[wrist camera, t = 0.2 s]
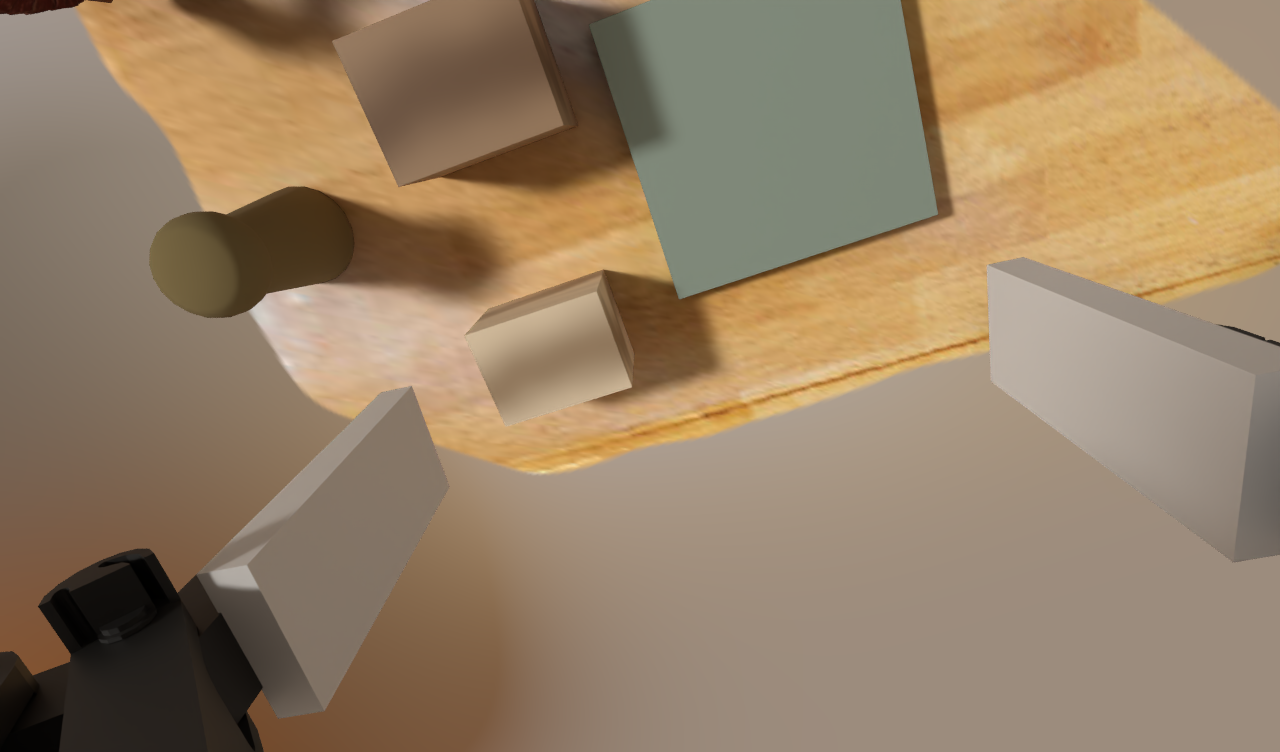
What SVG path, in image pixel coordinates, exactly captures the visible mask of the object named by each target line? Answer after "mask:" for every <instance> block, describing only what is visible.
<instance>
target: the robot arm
mask: <svg viewBox="0 0 1280 752" xmlns="http://www.w3.org/2000/svg"><path fill="white" fill-rule="evenodd" d="M987 284H988V312H989V341H990V368H991V382H992V383H994V384H995V385H996V386H998V387H999V388H1000V389H1002V390H1003V391H1005V392H1006V393H1007V394H1008V395H1010V396H1011V397H1013V398H1014V399H1015V400H1017V401H1018V402H1019V403H1021V404H1022V405H1024V406H1025V407H1026V408H1027V409H1029V410H1030V411H1031V412H1033V413H1034V414H1035V415H1037V416H1038V417H1039V418H1041V419H1042V420H1043V421H1045V422H1046V423H1048V424H1049V425H1050V426H1051V427H1053V428H1054V429H1055V430H1057V431H1058V432H1059V433H1061V434H1062V435H1063V436H1065V437H1066V438H1068V439H1069V440H1070V441H1072V442H1073V443H1074V444H1075V445H1077V446H1078V447H1080V448H1081V449H1082V450H1083V451H1085V452H1086V453H1087V454H1089V455H1090V456H1092V457H1093V458H1094V459H1096V460H1097V461H1098V462H1100V463H1101V464H1102V465H1104V466H1105V467H1106V468H1108V469H1109V470H1110V471H1112V472H1113V473H1114V474H1116V475H1117V476H1118V477H1120V478H1121V479H1122V480H1124V481H1125V482H1126V483H1128V484H1129V485H1130V486H1132V487H1133V488H1134V489H1136V490H1137V491H1139V492H1140V493H1141V494H1142V495H1144V496H1145V497H1146V498H1148V499H1149V500H1150V501H1152V502H1153V503H1154V504H1156V505H1157V506H1159V507H1160V508H1161V509H1163V510H1164V511H1165V512H1166V513H1168V514H1169V515H1170V516H1172V517H1173V518H1175V519H1176V520H1177V521H1179V522H1180V523H1181V524H1183V525H1184V526H1185V527H1187V528H1188V529H1189V530H1191V531H1192V532H1193V533H1195V534H1196V535H1197V536H1199V537H1200V538H1201V539H1203V540H1204V541H1205V542H1207V543H1208V544H1210V545H1211V546H1212V547H1213V548H1215V549H1216V550H1217V551H1219V552H1220V553H1221V554H1223V555H1224V556H1225V557H1227V558H1228V559H1229V560H1231V561H1232V562H1239V561H1244V560H1250V559H1257V558H1263V557H1269V556H1275V555H1280V343H1279V342H1276V341H1273V340H1267V341H1266V340H1265V338H1264V337H1261V336H1258V335H1256V334H1253V333H1250V332H1247V331H1244V330H1241V329H1238V328H1235V327H1230V326H1223V325H1217V324H1213V323H1210V322H1208V321H1205V320H1202V319H1199V318H1196V317H1193V316H1190V315H1188V314H1185V313H1182V312H1179V311H1176V310H1173V309H1170V308H1167V307H1165V306H1162V305H1159V304H1156V303H1153V302H1150V301H1148V300H1145V299H1142V298H1139V297H1136V296H1133V295H1130V294H1127V293H1125V292H1122V291H1119V290H1116V289H1113V288H1110V287H1107V286H1105V285H1102V284H1099V283H1096V282H1093V281H1090V280H1087V279H1084V278H1082V277H1079V276H1076V275H1073V274H1070V273H1067V272H1064V271H1062V270H1059V269H1056V268H1053V267H1050V266H1047V265H1044V264H1041V263H1039V262H1036V261H1033V260H1030V259H1027V258H1024V257H1022V258H1017V259H1013V260H1008V261H1003V262H998V263H994V264H989V265H987ZM448 489H449V484H448V481H447V478H446V476H445V473H444V470H443V468H442V465H441V463H440V460H439V457H438V454H437V452H436V449H435V446H434V444H433V441H432V438H431V436H430V433H429V430H428V428H427V425H426V423H425V420H424V417H423V415H422V412H421V409H420V407H419V404H418V401H417V399H416V396H415V393H414V391H413V388H412V386H409V387H405V388H400V389H395V390H390V391H386V392H381V393H380V394H379V395H378V396H377V397H376V398H375V399H374V400H373V401H372V402H371V403H370V404H369V405H368V406H367V407H366V408H365V409H364V410H363V411H362V412H361V413H360V414H359V415H358V416H357V417H356V418H355V419H354V420H353V421H352V422H351V423H350V424H349V425H348V426H347V427H346V428H345V429H344V430H343V431H341V432H340V433H339V435H337V436H336V437H335V438H334V439H333V440H332V441H331V442H330V443H329V444H328V445H327V446H326V447H325V448H324V449H323V450H322V451H321V452H320V453H319V454H318V455H317V456H316V457H315V458H314V459H313V460H312V461H311V462H310V463H309V464H308V465H307V466H306V467H305V468H304V469H303V470H302V471H301V472H300V473H299V474H298V475H297V476H296V477H295V478H294V479H293V480H292V481H291V482H290V483H289V484H288V485H287V486H286V487H285V488H284V489H283V490H282V491H281V492H280V493H279V494H278V495H277V496H276V497H275V498H273V500H271V502H270V503H269V504H267V505H266V506H265V507H264V508H263V509H262V510H261V511H260V512H259V513H258V515H256V516H255V517H254V518H253V519H252V520H251V521H250V522H249V523H248V524H247V525H246V526H245V527H244V528H243V529H242V530H241V531H240V532H239V533H238V534H237V535H236V536H235V537H234V538H233V539H232V540H231V541H230V542H229V543H228V544H227V545H226V546H225V547H224V548H223V549H222V550H221V551H220V552H219V553H218V554H217V555H216V556H215V557H214V558H213V559H212V560H211V561H210V562H209V563H208V564H207V565H206V566H205V567H204V568H203V569H201V570H200V572H198V573H197V574H196V575H195V576H194V577H193V578H192V579H191V580H190V581H189V582H188V583H187V584H186V585H185V586H184V587H183V588H182V589H181V590H180V591H179V592H178V593H177V592H176V590H175V588H174V587H173V585H172V583H171V581H170V580H169V578H168V576H167V575H166V573H165V571H164V569H163V568H162V566H161V564H160V563H159V561H158V559H157V558H156V556H155V554H154V553H153V552H152V551H151V550H150V549H134V550H130V551H126V552H122V553H119V554H117V555H114V556H111V557H109V558H106V559H103V560H101V561H99V562H97V563H95V564H93V565H91V566H89V567H87V568H85V569H83V570H81V571H79V572H77V573H76V574H74V575H72V576H71V577H69V578H68V579H66V580H65V581H63V582H62V583H60V584H58V585H57V586H56V587H55V588H54V589H53V590H51V591H50V592H49V593H48V594H47V595H46V596H44V598H43V600H42V601H41V603H40V604H39V606H38V607H39V608H40V610H41V611H42V613H43V614H44V616H45V617H46V619H47V620H48V622H49V623H50V624H51V626H52V627H53V629H54V630H55V631H56V633H57V635H58V636H59V638H60V639H61V640H62V642H63V643H64V645H65V646H66V648H67V649H68V650H69V652H70V654H71V658H70V662H69V663H66V664H63V665H60V666H58V667H55V668H52V669H50V670H47V671H44V672H41V673H38V674H36V675H32V674H31V673H30V671H29V670H28V669H27V667H26V666H25V665H24V663H23V662H22V660H21V659H20V657H19V656H18V655H17V654H15V653H14V652H12V651H10V652H0V752H264V751H263V747H262V744H261V740H260V737H259V733H258V730H257V728H256V726H255V724H254V723H253V721H252V719H251V718H250V716H249V714H248V712H247V710H248V708H249V707H250V705H251V703H253V701H254V700H255V698H256V697H257V695H258V694H259V692H260V691H261V689H262V691H263V693H264V695H265V696H266V698H267V700H268V701H269V703H270V705H271V707H272V708H273V710H274V712H275V714H276V716H277V717H278V718H285V717H291V716H297V715H303V714H309V713H315V712H322V711H325V709H326V707H327V705H328V704H329V702H330V700H331V698H332V696H333V695H334V693H335V691H336V689H337V687H338V686H339V684H340V682H341V680H342V679H343V677H344V675H345V673H346V671H347V670H348V668H349V666H350V664H351V662H352V660H353V659H354V657H355V655H356V653H357V652H358V650H359V648H360V646H361V644H362V643H363V640H364V639H365V637H366V635H367V634H368V632H369V630H370V628H371V626H372V625H373V623H374V621H375V619H376V618H377V616H378V614H379V612H380V610H381V609H382V607H383V605H384V603H385V601H386V600H387V598H388V596H389V594H390V593H391V591H392V589H393V587H394V585H395V583H396V582H397V580H398V578H399V576H400V574H401V573H402V571H403V569H404V567H405V566H406V564H407V562H408V560H409V558H410V557H411V555H412V553H413V551H414V549H415V548H416V546H417V544H418V542H419V541H420V539H421V537H422V535H423V533H424V532H425V530H426V528H427V526H428V524H429V522H430V521H431V519H432V517H433V515H434V514H435V512H436V510H437V508H438V506H439V505H440V503H441V501H442V499H443V498H444V496H445V494H446V492H447V490H448Z"/></svg>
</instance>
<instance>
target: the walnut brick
mask: <svg viewBox="0 0 1280 752" xmlns="http://www.w3.org/2000/svg"><path fill="white" fill-rule="evenodd" d="M332 42H333V45H334V47H335V49H336V51H337V53H338V56H339V58H340V60H341V62H342V64H343V67H344V69H345V71H346V73H347V75H348V77H349V80H350V82H351V84H352V86H353V88H354V91H355V93H356V95H357V97H358V99H359V101H360V104H361V106H362V108H363V110H364V112H365V115H366V117H367V119H368V121H369V123H370V126H371V128H372V130H373V132H374V134H375V136H376V139H377V141H378V143H379V145H380V147H381V150H382V152H383V154H384V156H385V158H386V161H387V163H388V165H389V167H390V169H391V171H392V174H393V176H394V178H395V180H396V182H397V185H398V187H401V186H405V185H409V184H413V183H417V182H422V181H426V180H430V179H434V178H439V177H442V176H444V175H447V174H450V173H452V172H455V171H458V170H460V169H463V168H466V167H469V166H471V165H474V164H477V163H479V162H482V161H485V160H487V159H490V158H493V157H495V156H498V155H501V154H503V153H506V152H509V151H511V150H514V149H517V148H519V147H522V146H525V145H527V144H530V143H533V142H536V141H538V140H541V139H544V138H546V137H549V136H552V135H554V134H557V133H560V132H562V131H565V130H568V129H570V128H573V127H576V126H578V124H577V121H576V118H575V115H574V112H573V109H572V107H571V104H570V101H569V98H568V95H567V92H566V89H565V87H564V84H563V81H562V78H561V75H560V72H559V70H558V67H557V64H556V61H555V58H554V55H553V53H552V50H551V47H550V44H549V41H548V38H547V35H546V33H545V30H544V27H543V24H542V21H541V18H540V16H539V13H538V10H537V7H536V4H535V1H534V0H430V1H428V2H425V3H423V4H420V5H418V6H416V7H413V8H411V9H408V10H406V11H404V12H401V13H399V14H396V15H394V16H391V17H389V18H387V19H384V20H382V21H379V22H377V23H374V24H372V25H370V26H367V27H365V28H362V29H360V30H358V31H355V32H353V33H350V34H348V35H345V36H343V37H341V38H338V39H336V40H333V41H332Z"/></svg>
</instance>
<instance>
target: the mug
mask: <svg viewBox="0 0 1280 752" xmlns="http://www.w3.org/2000/svg"><path fill="white" fill-rule="evenodd" d="M90 1H98V2H106V3H112V1H113V0H90ZM82 2H84V0H0V14H9V15H15V14H23V13H24V14H26V15H28V14H35V13H40V12H44V11H48V10H51V11H53V10H57V9H62V8H72V7H75V6H78V4H80V3H82Z"/></svg>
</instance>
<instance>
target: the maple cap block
mask: <svg viewBox="0 0 1280 752" xmlns="http://www.w3.org/2000/svg"><path fill="white" fill-rule="evenodd" d="M464 336H465V339H466V341H467V343H468V345H469V347H470V350H471V352H472V354H473V356H474V358H475V360H476V363H477V365H478V367H479V369H480V371H481V374H482V376H483V378H484V380H485V382H486V385H487V387H488V389H489V391H490V393H491V395H492V398H493V400H494V402H495V404H496V406H497V409H498V411H499V413H500V415H501V417H502V419H503V422H504V424H505V426H509V425H513V424H516V423H519V422H522V421H525V420H529V419H532V418H535V417H538V416H541V415H545V414H548V413H551V412H554V411H557V410H561V409H564V408H567V407H570V406H574V405H577V404H580V403H583V402H586V401H590V400H593V399H596V398H599V397H602V396H606V395H609V394H612V393H615V392H618V391H622V390H625V389H628V388H631V387H632V382H633V369H634V355H635V354H634V351H633V348H632V346H631V343H630V340H629V337H628V335H627V332H626V329H625V326H624V324H623V321H622V318H621V315H620V313H619V310H618V307H617V304H616V302H615V299H614V296H613V293H612V291H611V288H610V285H609V283H608V280H607V277H606V274H605V272H604V270H601V271H598V272H595V273H592V274H589V275H586V276H583V277H580V278H577V279H574V280H571V281H568V282H565V283H563V284H560V285H557V286H554V287H551V288H548V289H545V290H542V291H539V292H536V293H533V294H530V295H527V296H524V297H521V298H518V299H515V300H512V301H509V302H506V303H504V304H501V305H498V306H495V307H492V308H489V309H488V310H487V311H486V312H485V313H484V314H483V315H482V316H481V318H480V319H479V320H478V321H477V322H476V323H475V324H474V325H473V326H472V328H471V329H470V330H469V331H468V332H467V333H466V334H465V335H464Z"/></svg>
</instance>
